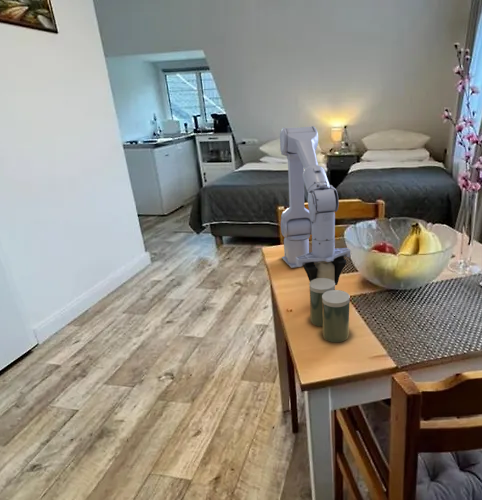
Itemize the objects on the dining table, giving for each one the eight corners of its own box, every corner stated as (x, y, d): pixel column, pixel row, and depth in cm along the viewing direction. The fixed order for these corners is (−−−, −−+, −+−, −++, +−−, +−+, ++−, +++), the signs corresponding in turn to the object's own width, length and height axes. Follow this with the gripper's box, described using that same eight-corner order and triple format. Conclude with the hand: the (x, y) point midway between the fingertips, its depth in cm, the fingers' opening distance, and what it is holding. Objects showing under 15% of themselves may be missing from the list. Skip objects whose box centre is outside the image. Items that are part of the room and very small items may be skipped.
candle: (327, 302, 98) (326, 267, 94) (309, 297, 101) (308, 262, 97) (338, 294, 102) (338, 259, 98) (321, 289, 105) (320, 255, 101)
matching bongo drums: (306, 316, 96) (305, 280, 92) (328, 311, 98) (328, 275, 94) (329, 345, 85) (329, 305, 81) (354, 338, 87) (354, 299, 83)
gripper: (302, 247, 90) (304, 298, 95) (356, 237, 95) (355, 286, 100) (291, 238, 96) (293, 286, 101) (343, 229, 101) (342, 276, 106)
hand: (323, 286), depth 101 cm, fingers closed on candle, 5 cm apart
